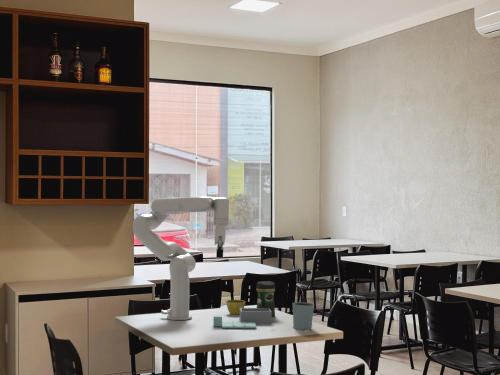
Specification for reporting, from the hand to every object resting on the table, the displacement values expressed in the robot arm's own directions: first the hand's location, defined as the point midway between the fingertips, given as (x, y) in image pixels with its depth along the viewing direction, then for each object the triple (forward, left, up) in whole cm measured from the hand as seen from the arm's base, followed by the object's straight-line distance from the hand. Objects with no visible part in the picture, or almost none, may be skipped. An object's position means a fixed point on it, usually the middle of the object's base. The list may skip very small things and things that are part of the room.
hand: (219, 256), depth 347 cm
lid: (+7, -17, -32) cm, 37 cm away
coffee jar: (+24, +11, -32) cm, 42 cm away
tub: (+18, -5, -32) cm, 37 cm away
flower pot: (+9, +18, -32) cm, 38 cm away
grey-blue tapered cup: (+39, -20, -32) cm, 55 cm away
